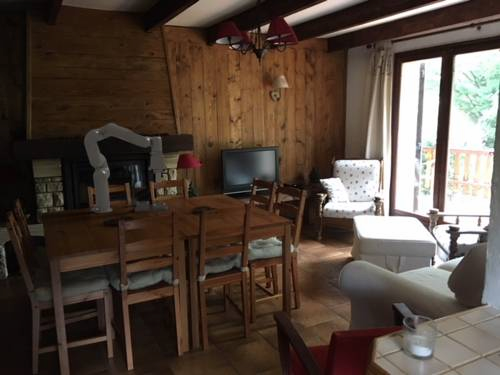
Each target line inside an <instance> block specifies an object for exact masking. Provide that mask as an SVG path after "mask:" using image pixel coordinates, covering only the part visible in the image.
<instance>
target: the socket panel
mask: <svg viewBox="0 0 500 375" xmlns="http://www.w3.org/2000/svg"><path fill="white" fill-rule="evenodd" d="M135 206H136V207H135V208H134V213H142V212H157V211H158V212H159V211H161V212H162V211H168V210H169V206H167V204H166V202H158V203H156V202H155V203H152V206H150V205H149V201H143V202H138V201H136V205H135Z"/></svg>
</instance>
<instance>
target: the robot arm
mask: <svg viewBox="0 0 500 375" xmlns="http://www.w3.org/2000/svg"><path fill="white" fill-rule="evenodd" d="M84 136H85V137H84V140H83V142H84V147H85V150H86V155H87V157H88V160H89V161H88V162H89V164H90V165H91V166H92V167H93V168H94V172H93V184H94V194H95V206H94V207H92V208H91V209H90V210H91V212H94V213H96V214H103V213H110V212H113V208H112V207H111V204H110V190H109V180H108V178H110V175H111V173H110V171H111V170H110V168H109V166H108V162H107V159H106V157H105V156H104V155H103V154H102V153H101V151H100V148H99V146H98V141H102V140H104V139H108V138H110V137H115V138H118V139H120V140H122V141H126V142H128V143H131V144H133V145H135V146H139V147H141V148H149V147H150V148H151V151H149V155H150V165H149V167H148V171H149V172H150V171H151V172H152V173H153V178H154V179H155V180H156V174H155V170H161V179H163V177H164V172H165V171H166V170H167V169H168V167H167V165H166V162H165V156H164V154H163V145H162V143H163V142H162V141H163V140H162V137H161V136H143V135H140V134H138V133H135V132H133V131H132V130H130V129H129V128H126V127H123V126H120V125H118V124H116V123H114V122H110V123H107V124H106V125H104V126H102V127H99V128H96V129H95V128H94V129H91V130H89V131H88V132H87V133H86V134H85V135H84Z"/></svg>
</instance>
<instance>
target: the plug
mask: <svg viewBox="0 0 500 375" xmlns="http://www.w3.org/2000/svg"><path fill="white" fill-rule="evenodd" d="M155 174H156V179H155V183H160V184H161V183H162V178H161V169H155Z"/></svg>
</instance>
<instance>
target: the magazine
mask: <svg viewBox="0 0 500 375" xmlns="http://www.w3.org/2000/svg"><path fill="white" fill-rule="evenodd" d="M134 196H135V197H136V201H137V202H143V201H149V206H151V205H152V206H153V199H152V193H151V191H150V189H149V187H148V186H147V185H145V186H143V187H141V188H140V189H138V190H136V191H135V192H134Z"/></svg>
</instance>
